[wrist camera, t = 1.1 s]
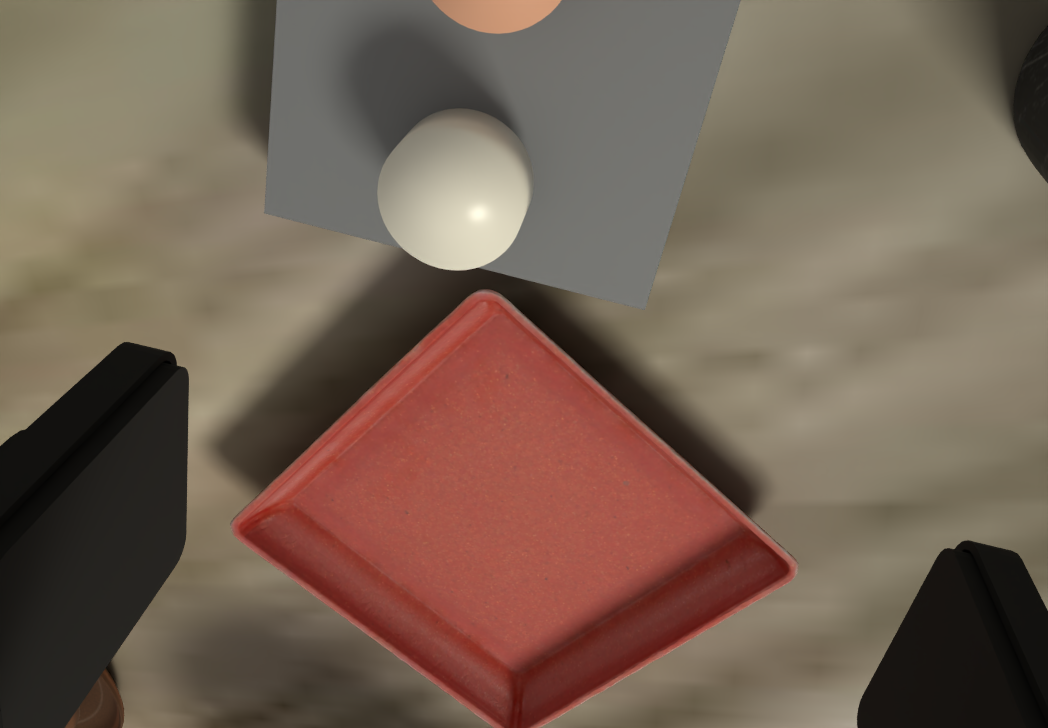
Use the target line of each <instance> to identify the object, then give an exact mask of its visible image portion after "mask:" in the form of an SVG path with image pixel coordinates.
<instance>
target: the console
mask: <svg viewBox="0 0 1048 728" xmlns="http://www.w3.org/2000/svg"><path fill="white" fill-rule="evenodd" d="M740 1H741V0H561V2H560V3H559V4H558V6H557V7H556V8H555V9H554V10H553V11H552V12H551V13H550V14H549V15H547V16H546V17H545V18H543V19H542V20H541V21H539V22H537V23H536V24H534V25H532V26H530V27H528V28H525V29H523V30H519V31H515V32H511V33H502V34H496V33H485V32H480V31H476V30H473V29H470V28H467V27H465V26H463V25H461V24H459V23H457V22H456V21H454V20H453V19H451V18H450V17H448V16H447V15H446V14H445V13H444V12H442V11H441V10H440V9H439V8H438V7H437V6H436V4H435V3H434V2H433V1H432V0H277V7H276V24H275V41H274V58H273V75H272V92H271V109H270V126H269V143H268V160H267V177H266V194H265V211H264V213H265V214H269V215H273V216H277V217H281V218H285V219H289V220H293V221H297V222H301V223H304V224H308V225H312V226H316V227H320V228H324V229H328V230H332V231H336V232H340V233H344V234H348V235H352V236H356V237H359V238H363V239H367V240H371V241H375V242H379V243H383V244H387V245H391V246H395V247H399V248H402V247H401V246H400V245H399V244H398V243H397V242H396V241H395V239H394V238H393V237H392V236H391V234H390V232H389V231H388V229H387V227H386V225H385V223H384V221H383V219H382V216H381V213H380V209H379V205H378V196H377V190H378V181H379V176H380V173H381V170H382V167H383V165H384V163H385V161H386V159H387V158H388V156H389V155H390V154H391V152H392V151H393V150H394V149H395V147H396V146H397V145H398V144H399V143H400V142H401V141H402V139H403V138H404V137H405V136H406V135H407V134H408V133H409V131H410V130H411V129H412V128H413V127H414V126H415V125H416V124H417V123H418V122H420V121H421V120H422V119H424V118H426V117H427V116H429V115H431V114H433V113H436V112H439V111H442V110H447V109H455V108H463V109H472V110H477V111H480V112H483V113H486V114H488V115H490V116H493V117H495V118H496V119H498V120H499V121H501V122H503V123H504V124H505V125H506V126H507V127H509V128H510V129H511V130H512V131H513V132H514V133H515V134H516V135H517V137H518V138H519V139H520V141H521V142H522V144H523V145H524V147H525V149H526V151H527V153H528V155H529V158H530V161H531V164H532V168H533V176H534V188H533V195H532V199H531V202H530V205H529V207H528V210H527V212H526V215H525V217H524V219H523V222H522V224H521V227H520V229H519V231H518V234H517V236H516V238H515V239H514V241H513V243H512V244H511V245H510V247H509V248H508V249H507V250H506V251H505V252H504V253H503V254H502V255H501V256H499V257H498V258H497V259H495V260H494V261H492V262H490V263H488V264H486V265H484V266H481V267H478V268H481V269H485V270H489V271H493V272H497V273H501V274H505V275H509V276H513V277H517V278H521V279H524V280H528V281H532V282H536V283H540V284H544V285H548V286H552V287H556V288H560V289H564V290H568V291H572V292H576V293H579V294H583V295H587V296H591V297H595V298H599V299H603V300H607V301H611V302H615V303H619V304H623V305H627V306H631V307H634V308H638V309H642V310H645V307H646V304H647V301H648V298H649V295H650V291H651V288H652V285H653V282H654V278H655V275H656V272H657V269H658V266H659V262H660V259H661V256H662V253H663V249H664V246H665V243H666V240H667V236H668V233H669V230H670V227H671V224H672V220H673V217H674V214H675V211H676V207H677V204H678V201H679V198H680V194H681V191H682V188H683V185H684V182H685V178H686V175H687V172H688V169H689V165H690V162H691V159H692V156H693V153H694V149H695V146H696V143H697V140H698V136H699V133H700V130H701V127H702V123H703V120H704V117H705V114H706V111H707V107H708V104H709V101H710V98H711V94H712V91H713V88H714V85H715V82H716V78H717V75H718V72H719V69H720V65H721V62H722V59H723V56H724V52H725V49H726V46H727V43H728V40H729V36H730V33H731V30H732V27H733V23H734V20H735V17H736V14H737V10H738V7H739V4H740Z"/></svg>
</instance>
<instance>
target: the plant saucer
mask: <svg viewBox="0 0 1048 728" xmlns="http://www.w3.org/2000/svg"><path fill="white" fill-rule="evenodd" d="M230 525H231V529H232V532H233V535H234V536H235V537H236V538H237V539H238V540H239V541H241V542H242V543H243V544H245V545H246V546H247V547H249V548H250V549H251V550H253V551H254V552H255V553H257V554H258V555H259V556H261V557H262V558H263V559H265V560H266V561H267V562H269V563H270V564H272V565H273V566H274V567H276V568H277V569H278V570H280V571H281V572H283V573H284V574H285V575H287V576H288V577H289V578H291V579H292V580H294V581H295V582H296V583H298V584H299V585H300V586H302V587H303V588H304V589H306V590H307V591H308V592H310V593H311V594H313V595H314V596H315V597H316V598H318V599H319V600H321V601H322V602H323V603H325V604H326V605H328V606H329V607H330V608H332V609H333V610H334V611H336V612H337V613H338V614H340V615H341V616H343V617H344V618H346V619H347V620H348V621H349V622H350V623H352V624H353V625H355V626H356V627H358V628H359V629H360V630H361V631H363V632H364V633H365V634H367V635H368V636H370V637H371V638H373V639H374V640H375V641H377V642H378V643H379V644H381V645H382V646H383V647H385V648H386V649H388V650H389V651H391V652H392V653H393V654H394V655H395V656H397V657H398V658H399V659H401V660H402V661H404V662H405V663H407V664H408V665H410V666H411V667H412V668H413V669H414V670H416V671H417V672H419V673H420V674H422V675H423V676H424V677H426V678H427V679H429V680H430V681H431V682H433V683H434V684H435V685H437V686H438V687H439V688H440V689H442V690H443V691H444V692H446V693H448V694H449V695H451V696H452V697H453V698H455V699H456V700H457V701H458V702H459V703H461V704H462V705H464V706H465V707H467V708H468V709H469V710H471V711H472V712H473V713H474V714H476V715H477V716H478V717H480V718H481V719H482V720H484V721H485V722H487V723H488V724H490V725H491V726H492V727H494V728H540V727H542V726H544V725H545V724H547V723H549V722H551V721H553V720H554V719H556V718H558V717H560V716H561V715H563V714H564V713H566V712H568V711H570V710H571V709H573V708H575V707H577V706H578V705H580V704H582V703H584V702H585V701H587V700H588V699H590V698H591V697H593V696H595V695H597V694H599V693H601V692H603V691H604V690H606V689H607V688H609V687H611V686H613V685H614V684H616V683H617V682H619V681H620V680H622V679H624V678H626V677H628V676H629V675H631V674H633V673H635V672H637V671H639V670H640V669H642V668H643V667H645V666H646V665H648V664H649V663H651V662H653V661H655V660H657V659H659V658H661V657H663V656H664V655H666V654H668V653H670V652H671V651H673V650H674V649H676V648H677V647H679V646H681V645H683V644H684V643H686V642H687V641H689V640H691V639H693V638H695V637H696V636H698V635H699V634H701V633H703V632H704V631H706V630H708V629H710V628H712V627H713V626H716V625H718V624H719V623H720V622H722V621H724V620H725V619H727V618H728V617H730V616H732V615H734V614H736V613H737V612H739V611H741V610H743V609H744V608H746V607H748V606H750V605H751V604H753V603H754V602H756V601H758V600H760V599H762V598H764V597H766V596H767V595H769V594H770V593H772V592H773V591H775V590H777V589H779V588H781V587H782V586H784V585H786V584H787V583H789V582H790V581H791V580H792V579H793V578H794V577H795V576H796V575H797V572H798V562H797V561H796V559H795V558H794V557H793V556H792V555H791V554H790V553H789V552H788V551H786V550H785V549H784V548H783V547H782V546H781V545H780V544H778V543H777V542H776V541H775V540H774V539H773V538H772V537H771V536H770V535H768V534H767V533H766V532H765V531H764V530H763V529H762V528H761V527H760V526H759V525H757V524H756V523H755V522H754V521H753V520H752V519H751V518H750V517H748V516H747V515H746V514H745V513H744V512H743V511H742V510H740V509H739V508H738V507H737V506H736V505H735V504H734V503H733V502H732V501H731V500H730V499H728V498H727V497H726V496H725V495H724V494H723V493H722V492H721V491H720V490H718V489H717V488H716V487H715V486H714V485H713V484H712V483H711V482H710V481H708V480H707V479H706V478H705V477H704V476H703V475H702V474H701V473H700V472H698V471H697V470H696V469H695V468H694V467H693V466H692V465H691V464H690V463H689V462H687V461H686V460H685V459H684V458H683V457H682V456H681V455H680V454H678V453H677V452H676V451H675V450H674V449H673V448H672V447H671V446H669V445H668V444H667V443H666V442H665V441H664V440H663V439H662V438H660V437H659V436H658V435H657V434H656V433H655V432H654V431H653V430H652V429H650V428H649V427H648V426H647V425H646V424H645V423H644V422H643V421H641V420H640V419H639V418H638V417H637V416H636V415H635V414H634V413H632V412H631V411H630V410H629V409H628V408H627V407H626V406H625V405H624V404H622V403H621V402H620V401H619V400H618V399H617V398H616V397H615V396H614V395H613V394H611V393H610V392H609V391H608V390H607V389H606V388H605V387H604V386H603V385H601V384H600V383H599V382H598V381H597V380H596V379H595V378H594V377H592V376H591V375H590V374H589V373H588V372H587V371H586V370H585V369H584V368H582V367H581V366H580V365H579V364H578V363H577V362H576V361H575V360H574V359H573V358H571V357H570V356H569V355H568V354H567V353H566V352H565V351H564V350H563V349H562V348H560V347H559V346H558V345H557V344H556V343H555V342H554V341H553V340H552V339H551V338H549V337H548V336H547V335H546V334H545V333H544V332H543V331H542V330H541V329H540V328H538V327H537V326H536V325H535V324H534V323H533V322H532V321H531V320H530V319H528V318H527V317H526V316H525V315H524V314H523V313H522V312H521V311H520V310H518V309H517V308H516V307H515V306H514V305H513V304H512V303H511V302H510V301H509V300H507V299H506V298H505V297H504V296H503V295H502V294H500V293H498V292H496V291H493V290H490V289H481V290H478V291H475V292H473V293H472V294H471V295H469V296H468V297H467V298H466V299H465V300H464V301H462V302H461V303H460V304H459V305H458V306H457V307H456V308H455V309H454V310H453V311H452V312H451V313H450V314H449V315H448V316H447V317H446V318H444V319H443V320H442V321H441V322H440V323H439V324H438V325H437V326H436V327H435V328H434V329H433V330H431V331H430V332H429V333H428V334H427V335H426V336H425V337H424V338H423V339H422V340H421V341H420V342H419V343H418V344H417V345H415V346H414V347H413V348H412V349H411V350H410V351H409V352H408V353H407V354H406V355H405V356H404V357H403V358H402V359H400V360H399V361H398V362H397V363H396V364H395V365H394V366H393V367H392V368H391V369H390V370H389V371H388V372H387V373H386V374H384V375H383V376H382V377H381V378H380V379H379V380H378V381H377V382H376V383H375V384H374V385H373V386H372V387H371V388H370V389H368V390H367V391H366V392H365V393H364V394H363V395H362V396H361V397H360V398H359V399H358V400H357V401H356V402H355V403H354V404H353V405H352V406H351V407H350V408H349V409H348V410H347V411H346V412H345V413H344V414H343V415H342V416H341V417H340V418H339V419H338V420H336V421H335V422H334V423H333V424H332V425H331V426H330V427H329V428H328V429H327V430H326V431H325V432H324V433H323V434H322V435H321V436H320V437H319V438H318V439H316V440H315V441H314V442H313V443H312V444H311V445H310V447H309V448H308V449H307V450H305V451H304V452H303V453H302V454H301V455H300V456H299V457H298V458H297V459H296V460H295V461H294V462H293V463H292V464H291V465H289V466H288V467H287V468H286V469H285V470H284V471H283V472H282V473H281V474H280V475H279V476H278V477H277V478H275V479H274V480H273V481H272V482H271V483H270V484H269V485H268V486H267V487H266V488H265V489H264V490H263V491H262V492H261V493H260V494H259V495H258V496H257V497H255V498H254V499H253V500H252V501H251V502H250V503H249V504H248V505H247V506H246V507H245V508H244V509H243V510H242V511H241V512H240V513H238V514H237V515H236V516H235V517H234V518H233V520H232V521H231V523H230Z"/></svg>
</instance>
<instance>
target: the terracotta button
mask: <svg viewBox="0 0 1048 728" xmlns="http://www.w3.org/2000/svg"><path fill="white" fill-rule="evenodd" d="M432 1H433V2H434V3H435V4H436V6H437V7H438V8H439V9H440V10H441V11H442V12H444V13H445V14H446V15H447V16H448V17H450V18H451V19H453V20H454V21H456V22H457V23H459V24H461V25H463V26H465V27H467V28H470V29H473V30H476V31H480V32H485V33H496V34H502V33H511V32H515V31H519V30H523V29H525V28H528V27H530V26H532V25H534V24H536V23H537V22H539V21H541V20H542V19H543V18H545V17H546V16H547V15H549V14H550V13H551V12H552V11H553V10H554V9H555V8H556V7H557V6H558V4H559V3H560V2H561V0H432Z"/></svg>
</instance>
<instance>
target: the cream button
mask: <svg viewBox="0 0 1048 728" xmlns="http://www.w3.org/2000/svg"><path fill="white" fill-rule="evenodd" d="M533 188H534V176H533V168H532V164H531V161H530V158H529V155H528V153H527V151H526V149H525V147H524V145H523V144H522V142H521V141H520V139H519V138H518V137H517V135H516V134H515V133H514V132H513V131H512V130H511V129H510V128H509V127H507V126H506V125H505V124H504V123H503V122H501V121H499V120H498V119H496V118H495V117H493V116H490V115H488V114H486V113H483V112H480V111H477V110H472V109H463V108H455V109H447V110H442V111H439V112H436V113H433V114H431V115H429V116H427V117H426V118H424V119H422V120H421V121H420V122H418V123H417V124H416V125H415V126H414V127H413V128H412V129H411V130H410V131H409V133H408V134H407V135H406V136H405V137H404V138H403V139H402V141H401V142H400V143H399V144H398V145H397V146H396V147H395V149H394V150H393V151H392V152H391V154H390V155H389V156H388V158H387V159H386V161H385V163H384V165H383V167H382V170H381V173H380V176H379V181H378V190H377V196H378V205H379V209H380V213H381V216H382V219H383V221H384V223H385V225H386V227H387V229H388V231H389V232H390V234H391V236H392V237H393V238H394V239H395V241H396V242H397V243H398V244H399V245H400V246H401V247H402V248H403V249H404V250H405V251H406V252H408V253H409V254H410V255H412V256H413V257H415V258H416V259H418V260H420V261H421V262H424V263H426V264H428V265H431V266H434V267H437V268H441V269H446V270H469V269H474V268H478V267H481V266H484V265H486V264H488V263H490V262H492V261H494V260H495V259H497V258H498V257H499V256H501V255H502V254H503V253H504V252H505V251H506V250H507V249H508V248H509V247H510V245H511V244H512V243H513V241H514V239H515V238H516V236H517V234H518V231H519V229H520V227H521V224H522V222H523V219H524V217H525V215H526V212H527V210H528V207H529V205H530V202H531V199H532V195H533Z"/></svg>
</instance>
